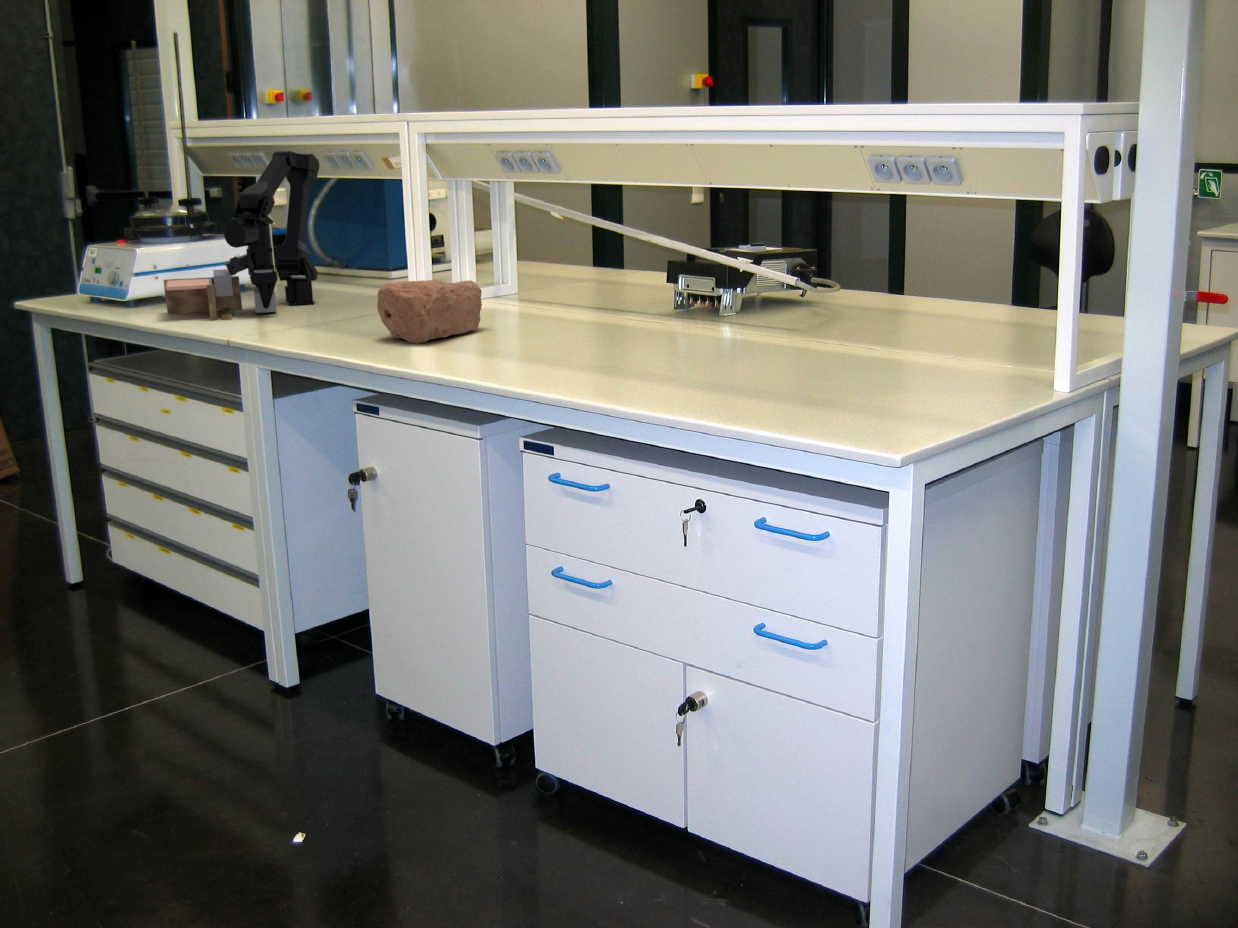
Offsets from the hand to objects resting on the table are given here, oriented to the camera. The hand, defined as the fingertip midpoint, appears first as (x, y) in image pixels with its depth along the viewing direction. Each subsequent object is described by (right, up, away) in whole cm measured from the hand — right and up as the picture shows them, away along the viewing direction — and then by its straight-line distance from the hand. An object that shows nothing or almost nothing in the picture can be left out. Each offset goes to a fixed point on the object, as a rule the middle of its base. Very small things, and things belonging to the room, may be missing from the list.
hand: (265, 306), depth 284 cm
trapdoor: (-15, +3, -4) cm, 16 cm away
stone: (+49, -11, -34) cm, 60 cm away
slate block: (0, -1, 0) cm, 1 cm away
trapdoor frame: (-14, -3, -3) cm, 15 cm away
